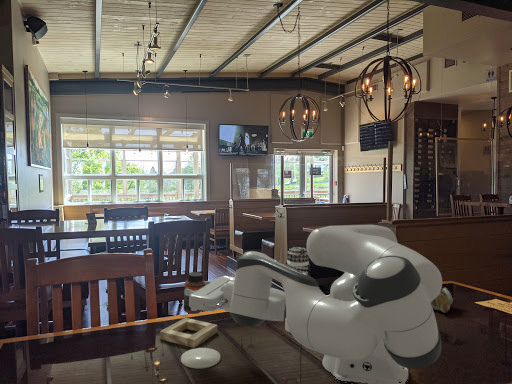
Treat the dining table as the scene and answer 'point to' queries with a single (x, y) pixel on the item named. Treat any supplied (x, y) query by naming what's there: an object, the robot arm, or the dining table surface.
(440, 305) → the ceramic sculpture
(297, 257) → the decorative candle
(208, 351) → the coaster
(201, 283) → the supplement bottle
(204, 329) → the square frame
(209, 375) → the dining table surface
